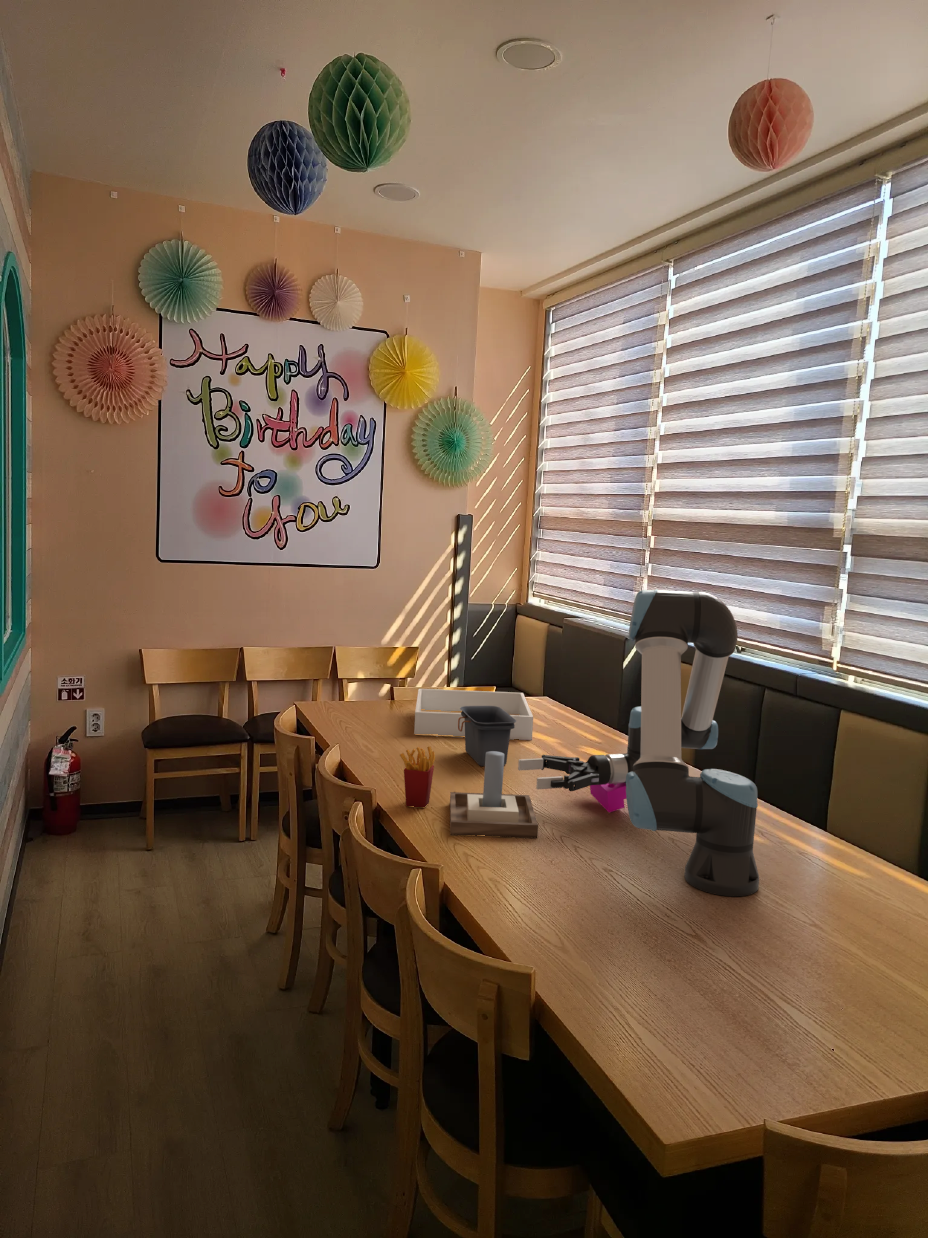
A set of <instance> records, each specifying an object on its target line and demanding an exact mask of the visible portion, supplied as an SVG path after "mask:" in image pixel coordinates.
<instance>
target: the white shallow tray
mask: <svg viewBox="0 0 928 1238" xmlns="http://www.w3.org/2000/svg"><path fill="white" fill-rule="evenodd" d="M415 705H416V706H415V711H414V733H413V735H414V734H438V735H453V736H465V722H464V723H463V729H462V732H460V731H459V730H458V719H459V718H460V717H463V716H462V715H461V712H451V711H462V710H461V709H460V708H461V707H463V706H497V707H500V708H501V709H503V710H504V711H505V712H507V713H508V714H509V715H510V716H512V717H513V718H514V719H515V720H516V722H515V723H514V725H515V728H513V729H511V731H510V739H509V740H514V739H519V740H520V741H521V740H522V741H533V730H534V727H533V726H534V715H533V712H532V711H531V708H530V706H529V703H528V701H527V699H526V697H525V694H524V692H512V691H511V692H510V691H509V692H508V691H489V690H487V691H484V690H483V691H482V690H466V689H465V690H460V689H438V688H437V689H435V688H418V690H417V697H416V704H415ZM421 709H425V710H424V711H422V710H421ZM426 710H441V711H426ZM463 721H465V718H461V719H460V724H459V725H460V727H459V728H460V730H461V725H462V722H463ZM519 740H518V741H519Z"/></svg>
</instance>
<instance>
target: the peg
mask: <svg viewBox="0 0 928 1238" xmlns="http://www.w3.org/2000/svg"><path fill="white" fill-rule="evenodd" d="M504 766H505V765H504V753H502V752H497V751H489V752H486V757H485V766H484V776H483V792H482V793H483V805H482V807H501V800H502V794H503V784H504V783H503V782H504V769H505V768H504Z"/></svg>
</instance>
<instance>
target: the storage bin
mask: <svg viewBox="0 0 928 1238" xmlns="http://www.w3.org/2000/svg"><path fill="white" fill-rule="evenodd" d="M460 709H461V710H462V712H460V713H461V715H462V716H463V717H460V718H459V719H458V730H459V731H460V732H462V729H463V723H464V722H465V738H464V741H465V742H464V745H465V746H464V748H465V749H464V750H465V752H466V753H467V754H468V755H469V756H470V757H471V758H472V759H473V760H474V761H475V762H476V764H478V766H479V767H480V766H481V767H485V757H486V752H489V751H497V752H502V753H504V766H505V765H507V760H508V755H509V753H508V752H509V745H510V740H511V739H510V731H511V729H513V728H515V725H514V723H515V722H516V720H515V719H514V718H513V717H512V716H510V715H511V714H508V713H507V712H505V711H504V710H503V709H501V708H500V707H497V706H463V707H461V708H460ZM461 718H465V721H463V722H462V725H461V730H460V728H459V727H460V725H459V724H460V719H461Z"/></svg>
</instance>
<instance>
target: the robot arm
mask: <svg viewBox="0 0 928 1238" xmlns="http://www.w3.org/2000/svg"><path fill="white" fill-rule="evenodd" d="M630 616H631V617H630V621H629V626H628V627H629V628H628V639H629V640H631V641H635V642H634V648H635V650H636V651H637V652H638V653H640V655H641V686H640V687H641V691H640V692H641V693H640V695H641V696H640V697H641V700H640V702H641V703H640V704H641V705H640V706H635V707H633V708H632V709H631V710H630V715H629V723H628V733H627V735H628V736H627V749H626V752H625V753H608V754H592V755H590V756H589V757H588V758H587V761H586V762H585V761H582V760H580V757H578V756H577V757H576V756H575V757H574V756H572V757H571V756H570V757H568V756H559V755H548V754H542V755H541V758H538V757H537V758H522V759H518V763H517V765H518V766H517V770H518V771H535V770H536V771H537V770H541V771H544V770H545V769H548V770H549V769H550V770H554V771H560V772H565V774H567V775H563V776H564V777H563V776H560V775H559V776H543V777H542V776H541V777H536V785H535V788H536V789H537V790H549V789H550V790H551V789H562V788H563V789H564V790H568V791H569V792H575V791H578V790H581V789H584V788H588V787H590V786H591V785H605V784H607V783H608V784H614V785H617V783H626V798H627V799H626V806H627V812H628V816H629V820H630V822H631V824H632V825H633V826H634V827H635V828H637V829H641V830H642V829H643V830H648V831H649V830H650V831H652V832H656V831H664V832H676V833H677V832H678V833H687V834H689V833H690V834H696V835H695V844H694V845H693V847H692V850H691V853H690V854H689V857H688V859H687V861H686V863H685V867H684V880H685V881H686V882H687V883H688V884H689V885H690V886H692V887H694V888H695V889H697V890H700V891H701V892H702V891H703V892H706V893H709V894H712V895H713V894H714V895H718V896H724V897H745V896H749V895H753V894H755V893H756V892H757V891H758V890H759V884H760V874H759V871H758V866H757V863H756V859H755V855H754V854H755V853H754V842H755V829H756V819H757V809H758V807H759V804H758V787H757V786H756V784H755V783H754V782H753V781H752V780H751V779H749V778H747V777H745V776H743V775H741V774H738V773H735V772H731V771H729V770H728V771H727V770H725V769H724V770H723V769H717V768H705V769H702V771H701V772H700V774H699V776H691V775H689V774H690V773H689V771H690V770H689V765H687V763H686V762H684V760H683V759H682V749H694V750H713V749H715V748H716V746H717V745H718V739H719V725H718V723H717V721H716V720H714V716H715V712H716V708H717V705H718V699H719V696H720V693H721V692H720V691H721V688H722V684H723V681H724V676H725V671H726V669H727V668H726V667H727V665H728V661H729V657H730V656H731V655H733V654H734V653H735V650H736V647H737V643H738V635H739V634H738V628H737V623H736V620H735V617H734V615H733V613H732V612H731V610H730V609H729V607H728V606H727V605H726V604H725V603H724V602H723V601H722V600H721V599H720V598H718V597H717V596H715V595H713V594H711V593H707V592H704V591H696V592H695V591H682V590H677V591H675V590H664V589H663V590H662V589H658V588H657V589H641V590H639V591H638V592H637V593H636V595H635V598H634V602H633V606H632V611H631V615H630ZM689 644H693V647H694V648H695V653H694V656H693V662H692V666H691V672H690V677H689V681H688V686H687V689H686V693H685V694H686V695H685V699H684V703H683V708H682V655H683V654H684V653H685V652H686V651H687V650H688V648H689Z"/></svg>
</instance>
